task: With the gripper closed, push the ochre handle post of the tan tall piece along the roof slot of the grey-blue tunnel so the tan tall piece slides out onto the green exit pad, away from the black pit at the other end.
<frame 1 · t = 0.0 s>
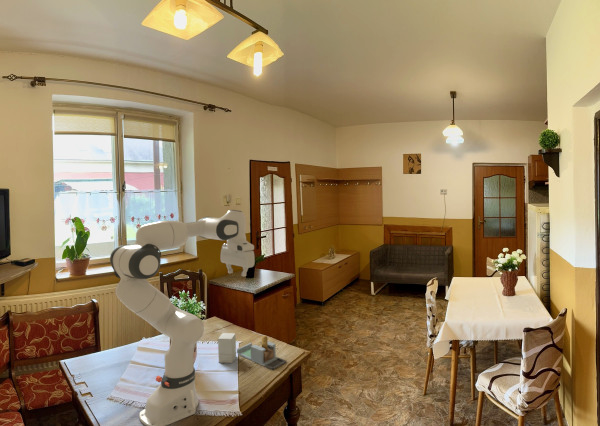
hand: (237, 274, 165), 48 cm above the table, fingers open, 8 cm apart
tan tall piece: (264, 347, 183), point 7 cm above the table, slide at -1.0 cm
supplement box: (227, 360, 184), on the table
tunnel: (263, 359, 184), on the table
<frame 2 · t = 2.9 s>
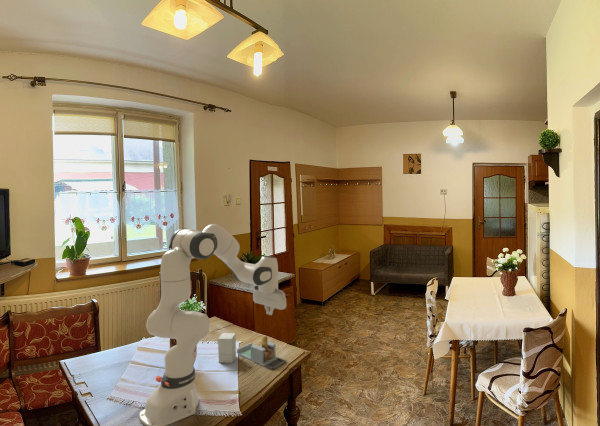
hand: (269, 314, 180), 24 cm above the table, fingers closed
nothing on the table moved.
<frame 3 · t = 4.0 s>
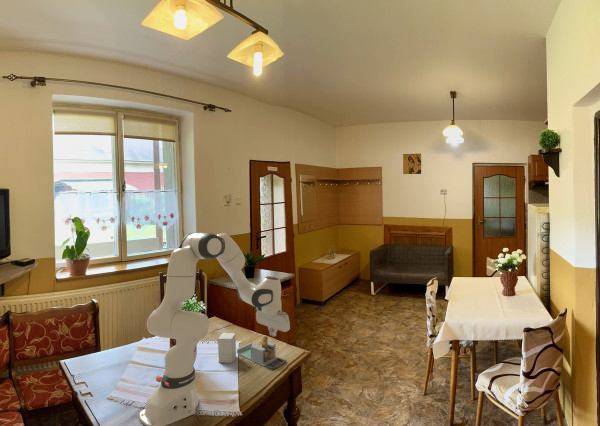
hand: (273, 335, 179), 14 cm above the table, fingers closed
nothing on the table moved.
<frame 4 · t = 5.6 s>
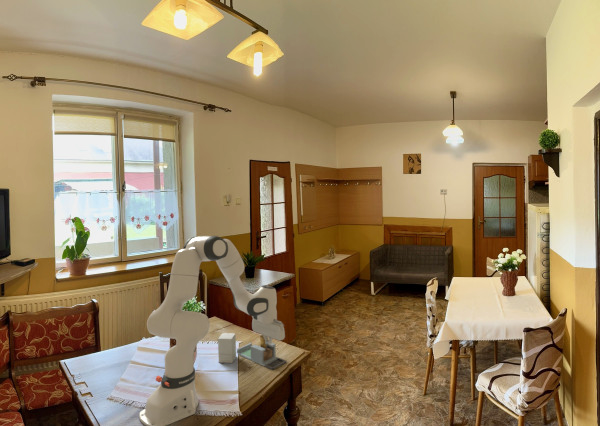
hand: (268, 344, 181), 9 cm above the table, fingers closed
tan tall piece: (263, 346, 183), point 7 cm above the table, slide at -0.1 cm, touching gripper
everything else where it was.
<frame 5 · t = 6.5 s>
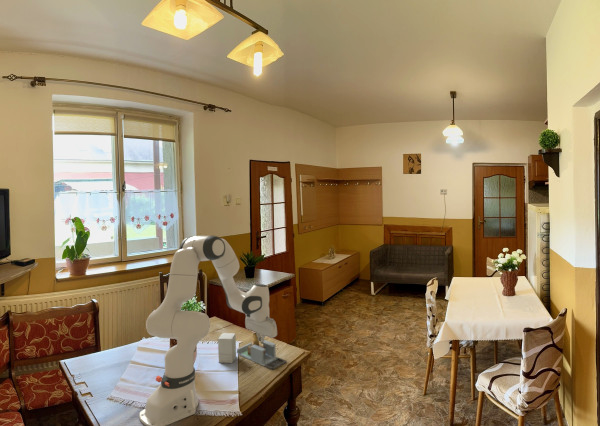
hand: (261, 341, 184), 9 cm above the table, fingers closed
tan tall piece: (256, 343, 187), point 7 cm above the table, slide at 5.2 cm, touching gripper
everything else where it was.
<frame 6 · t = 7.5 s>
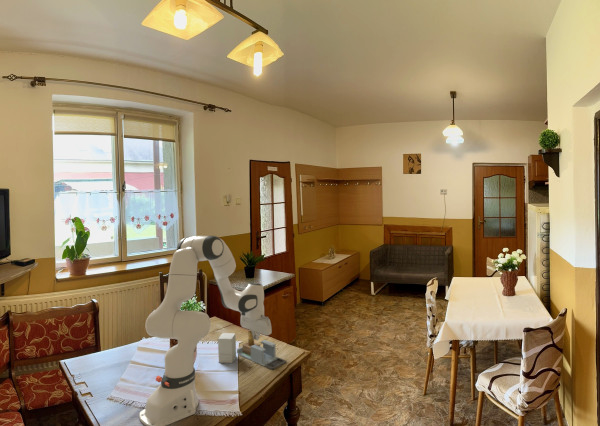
hand: (256, 339, 187), 9 cm above the table, fingers closed
tan tall piece: (251, 341, 189), point 7 cm above the table, slide at 9.0 cm, touching gripper
everything else where it was.
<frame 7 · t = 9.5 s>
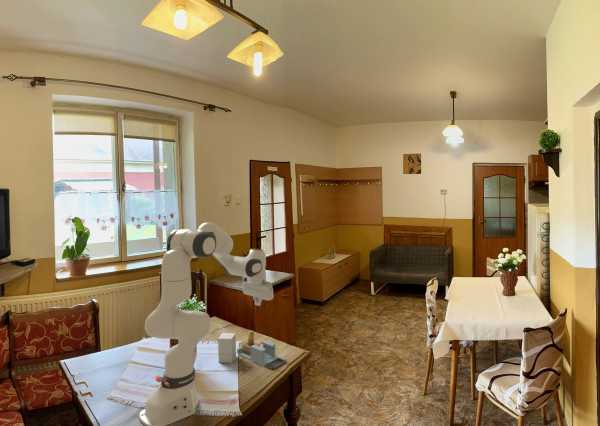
hand: (257, 305, 187), 27 cm above the table, fingers closed
tan tall piece: (251, 341, 189), point 7 cm above the table, slide at 9.1 cm
everything else where it was.
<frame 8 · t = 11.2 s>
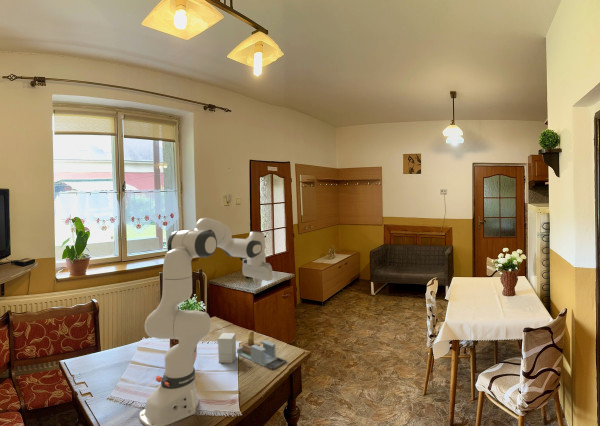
hand: (257, 286, 193), 35 cm above the table, fingers closed
nothing on the table moved.
at the end: tan tall piece slide at 9.1 cm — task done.
